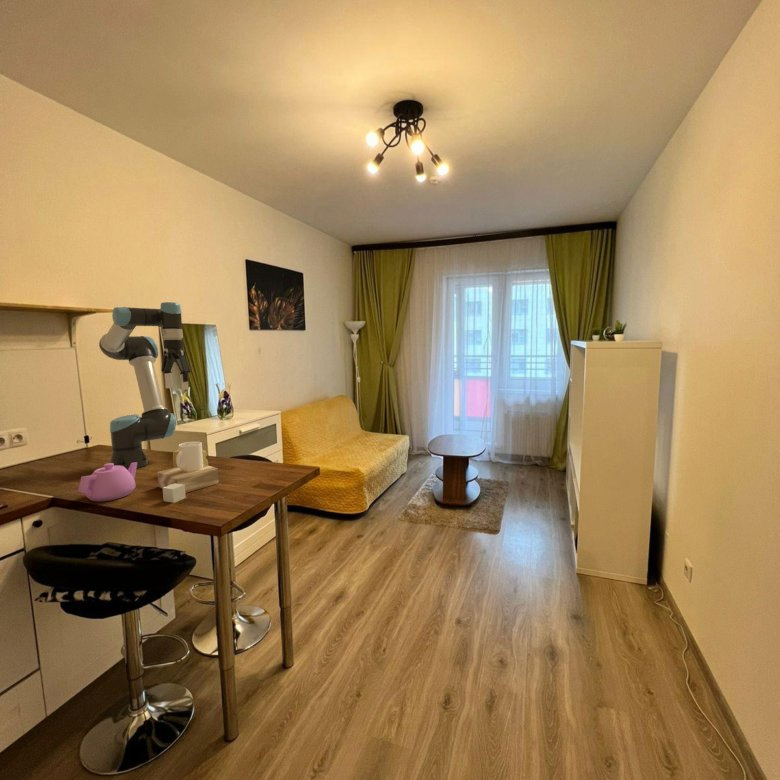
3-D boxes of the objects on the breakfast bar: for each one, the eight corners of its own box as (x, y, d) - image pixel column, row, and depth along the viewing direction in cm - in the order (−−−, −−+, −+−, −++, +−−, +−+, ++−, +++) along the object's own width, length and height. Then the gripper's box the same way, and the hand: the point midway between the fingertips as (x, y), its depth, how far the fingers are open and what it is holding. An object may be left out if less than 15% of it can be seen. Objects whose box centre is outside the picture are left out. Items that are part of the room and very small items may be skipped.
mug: (186, 475, 155) (184, 449, 154) (168, 474, 157) (166, 448, 156) (207, 466, 167) (206, 441, 166) (190, 465, 169) (188, 441, 168)
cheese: (208, 466, 188) (207, 445, 187) (195, 474, 177) (193, 451, 176) (187, 466, 189) (185, 445, 188) (172, 473, 178) (170, 451, 177)
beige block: (163, 501, 146) (162, 487, 146) (175, 496, 151) (174, 483, 150) (173, 503, 144) (172, 489, 144) (185, 498, 149) (184, 484, 148)
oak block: (158, 486, 161) (157, 472, 161) (197, 476, 174) (196, 462, 173) (178, 495, 152) (177, 479, 151) (218, 482, 165) (217, 468, 164)
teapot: (97, 508, 141) (94, 474, 139) (66, 503, 146) (62, 470, 144) (153, 487, 161) (150, 457, 160) (124, 483, 166) (121, 454, 165)
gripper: (150, 340, 179) (154, 388, 181) (179, 338, 164) (183, 391, 167) (167, 340, 185) (171, 386, 187) (197, 338, 170) (200, 389, 173)
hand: (176, 388), depth 177 cm, fingers open, 13 cm apart
